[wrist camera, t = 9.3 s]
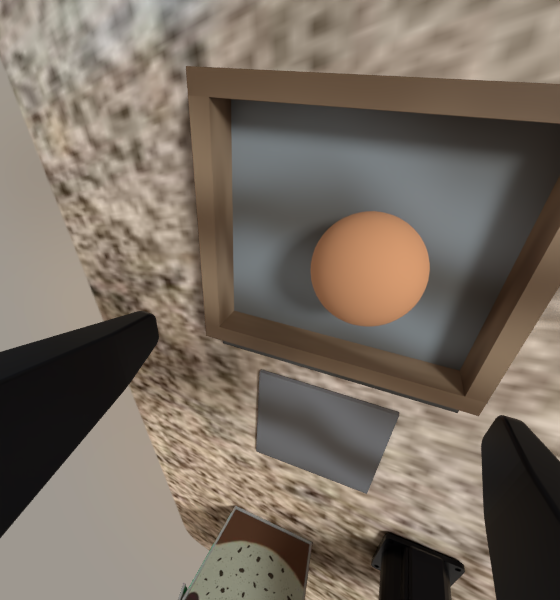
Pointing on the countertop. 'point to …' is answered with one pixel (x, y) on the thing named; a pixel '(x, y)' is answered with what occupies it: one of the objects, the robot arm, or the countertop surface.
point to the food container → (252, 563)
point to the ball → (370, 268)
